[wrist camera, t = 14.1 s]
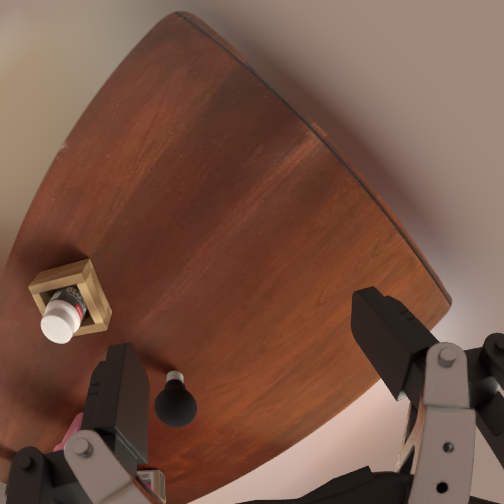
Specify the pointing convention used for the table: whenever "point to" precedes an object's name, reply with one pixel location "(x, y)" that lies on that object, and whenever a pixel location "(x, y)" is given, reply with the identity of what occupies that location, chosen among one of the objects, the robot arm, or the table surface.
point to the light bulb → (175, 402)
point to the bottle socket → (88, 287)
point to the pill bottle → (63, 314)
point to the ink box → (154, 482)
